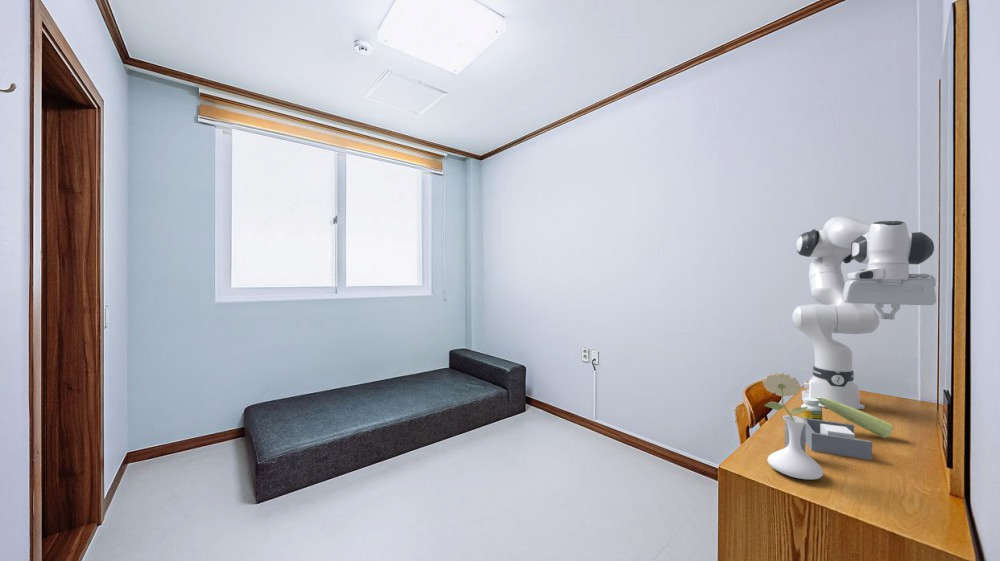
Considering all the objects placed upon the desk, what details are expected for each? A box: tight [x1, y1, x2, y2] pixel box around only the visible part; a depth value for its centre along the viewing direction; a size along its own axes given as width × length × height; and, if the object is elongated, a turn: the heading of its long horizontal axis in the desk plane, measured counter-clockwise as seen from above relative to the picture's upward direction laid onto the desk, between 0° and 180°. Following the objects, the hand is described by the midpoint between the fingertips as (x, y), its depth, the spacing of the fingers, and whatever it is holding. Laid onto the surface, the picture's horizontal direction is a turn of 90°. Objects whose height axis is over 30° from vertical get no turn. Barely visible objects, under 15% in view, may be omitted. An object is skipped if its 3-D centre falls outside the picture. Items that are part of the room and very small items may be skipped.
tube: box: [811, 397, 894, 439], centre depth 122 cm, size 6×5×20 cm
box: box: [800, 416, 873, 461], centre depth 113 cm, size 14×13×5 cm
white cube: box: [820, 424, 856, 439], centre depth 111 cm, size 6×6×6 cm
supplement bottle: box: [800, 397, 824, 420], centre depth 126 cm, size 5×5×10 cm
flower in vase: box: [762, 372, 824, 480], centre depth 98 cm, size 13×11×25 cm
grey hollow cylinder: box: [784, 420, 807, 453], centre depth 107 cm, size 4×4×10 cm
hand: (886, 319), depth 116 cm, fingers closed
